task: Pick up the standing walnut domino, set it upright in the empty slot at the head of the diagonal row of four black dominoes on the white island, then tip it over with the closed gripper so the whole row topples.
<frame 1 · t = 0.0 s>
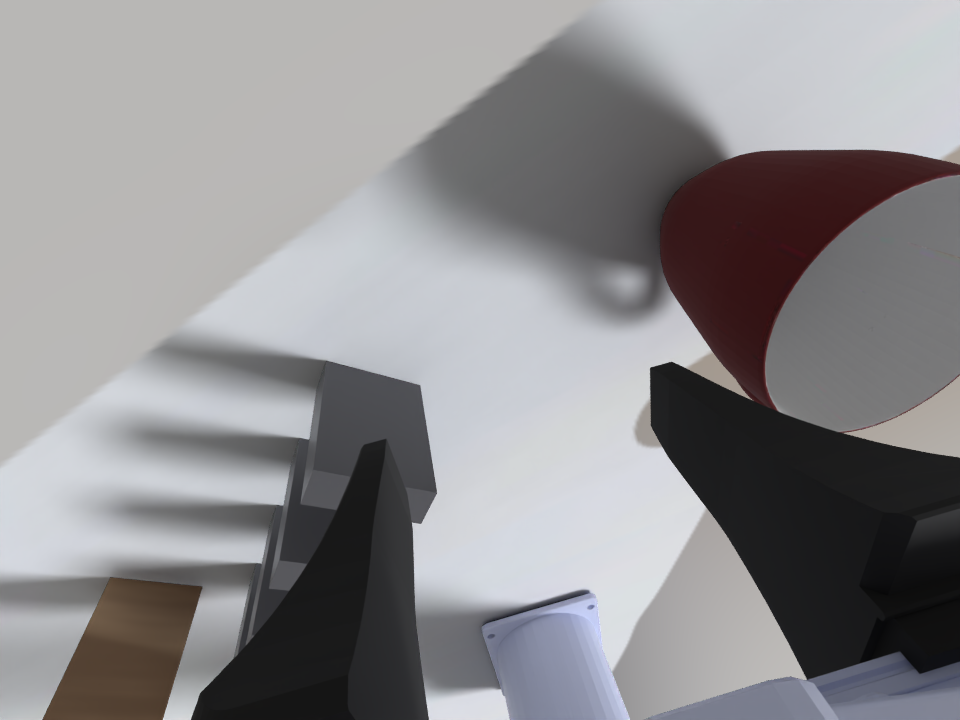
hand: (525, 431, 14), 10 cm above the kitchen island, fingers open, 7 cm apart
domino 2: (294, 577, 30), on the kitchen island
domino 4: (340, 459, 26), on the kitchen island
domino 3: (315, 522, 28), on the kitchen island
domino 5: (369, 387, 24), on the kitchen island
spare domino: (155, 591, 28), on the kitchen island
mug: (703, 242, 24), on the kitchen island
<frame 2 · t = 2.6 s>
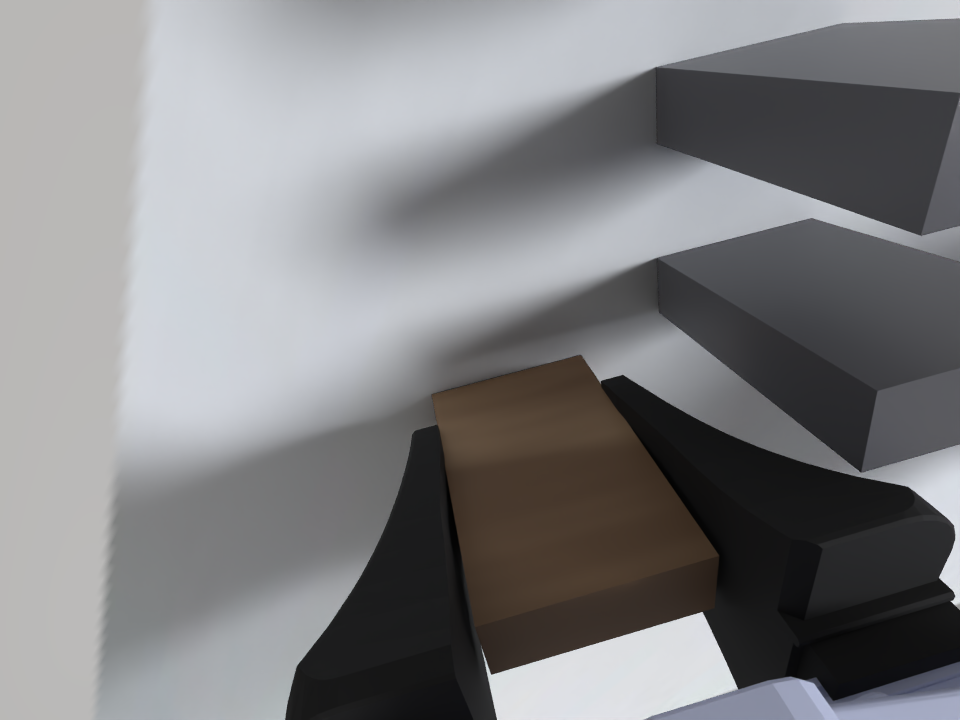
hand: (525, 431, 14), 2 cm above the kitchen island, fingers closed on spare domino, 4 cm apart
domino 2: (734, 266, 14), on the kitchen island
domino 3: (747, 84, 12), on the kitchen island
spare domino: (511, 396, 15), on the kitchen island, touching gripper
when the fingers open (2 cm above the kitchen island, at t = 5.8 s): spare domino stays where it is, on the kitchen island.
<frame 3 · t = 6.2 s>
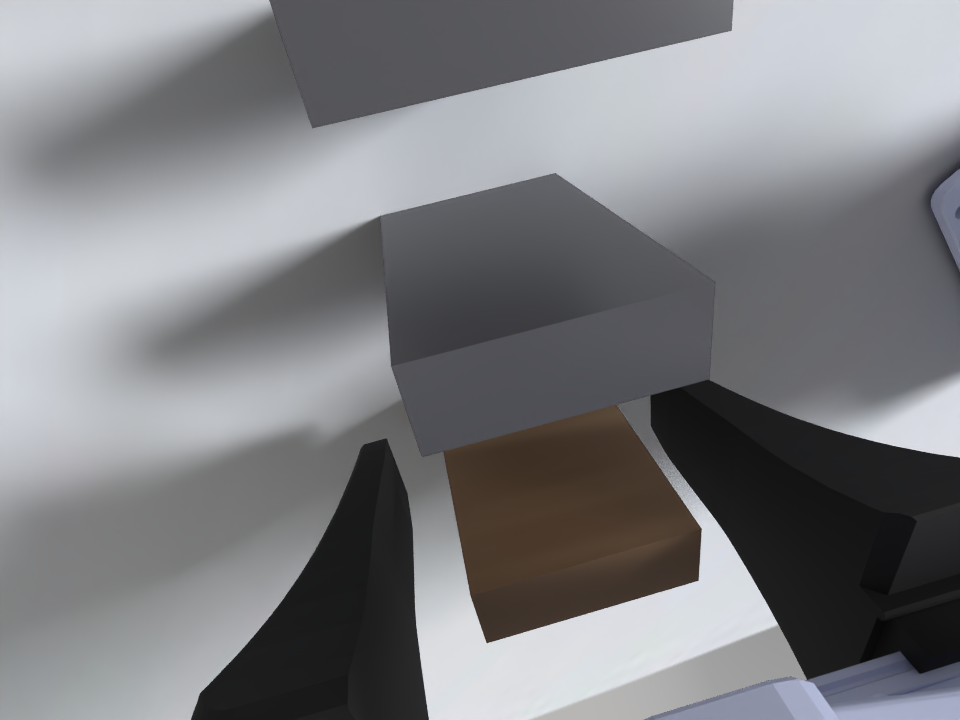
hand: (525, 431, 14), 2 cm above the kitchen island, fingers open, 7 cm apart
domino 2: (474, 226, 13), on the kitchen island
domino 3: (433, 15, 11), on the kitchen island
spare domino: (507, 385, 16), on the kitchen island
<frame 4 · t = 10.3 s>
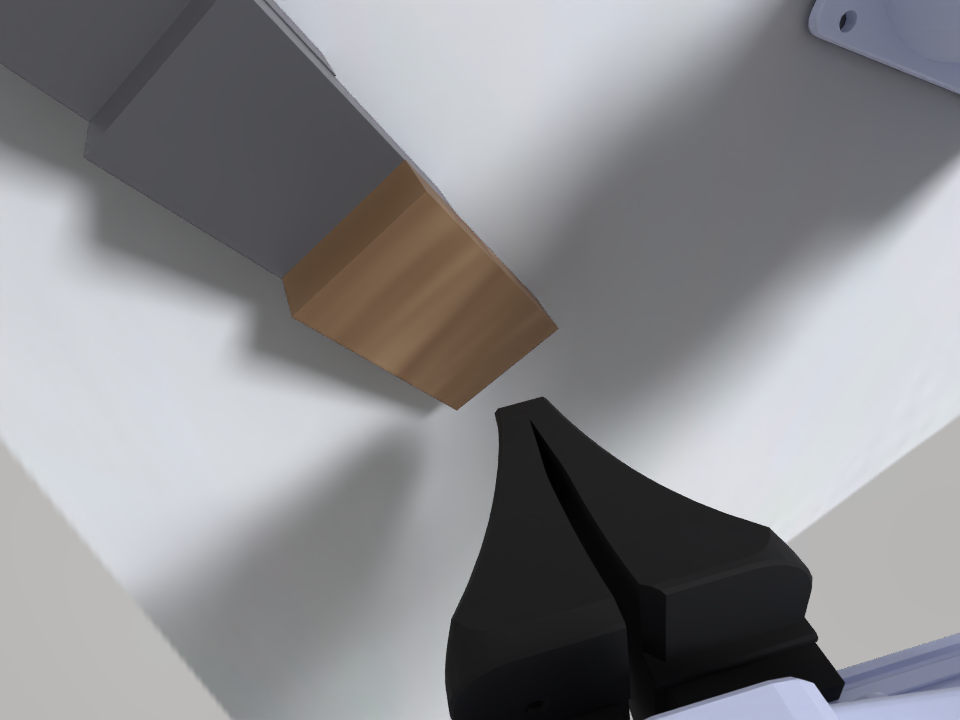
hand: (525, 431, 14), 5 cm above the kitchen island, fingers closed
domino 2: (392, 253, 15), point 1 cm above the kitchen island, tilted 69°, touching domino 3, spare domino
domino 3: (268, 128, 13), point 1 cm above the kitchen island, tilted 69°, touching domino 2, domino 4
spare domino: (496, 354, 18), point 1 cm above the kitchen island, tilted 70°, touching domino 2
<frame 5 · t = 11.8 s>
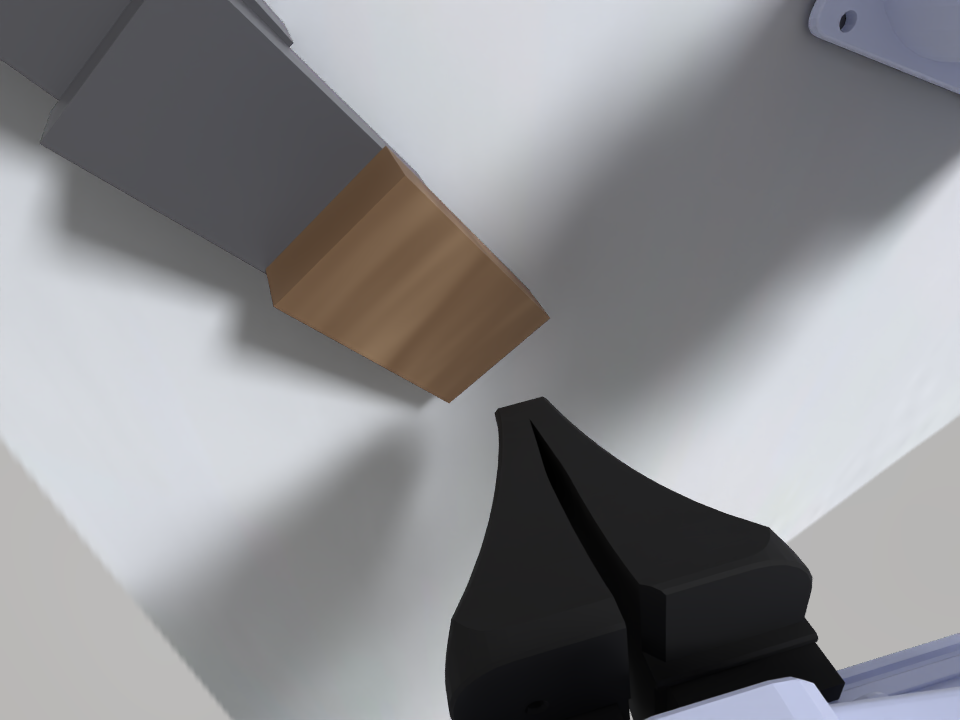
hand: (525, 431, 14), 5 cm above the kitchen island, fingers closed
domino 2: (372, 241, 15), point 1 cm above the kitchen island, tilted 71°, touching domino 3
domino 3: (225, 99, 13), point 1 cm above the kitchen island, tilted 71°, touching domino 2, domino 4
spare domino: (488, 345, 18), point 1 cm above the kitchen island, tilted 71°
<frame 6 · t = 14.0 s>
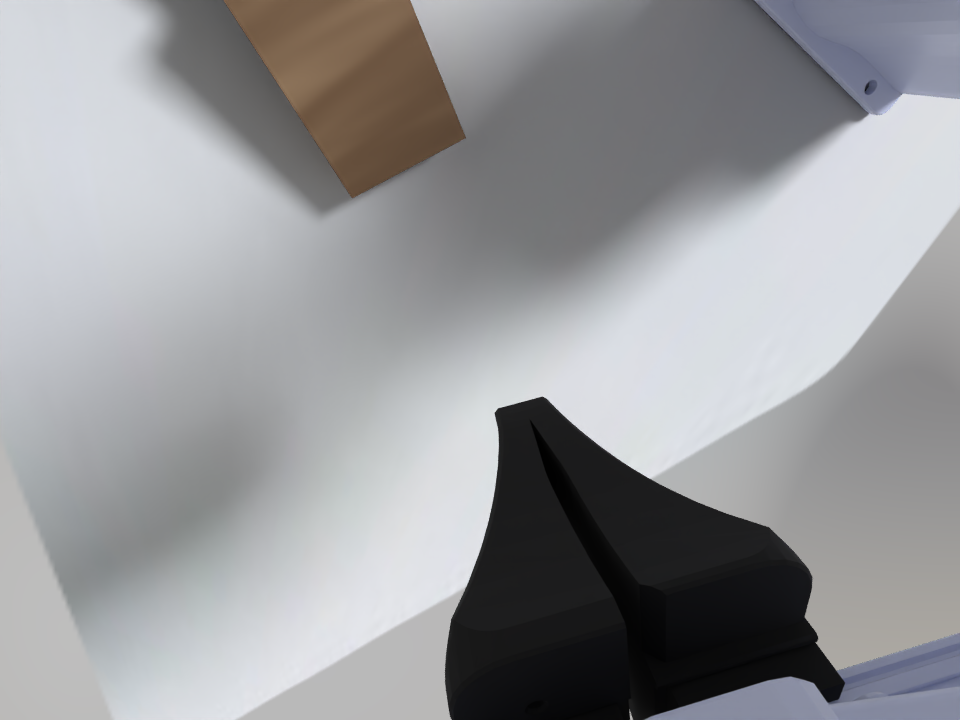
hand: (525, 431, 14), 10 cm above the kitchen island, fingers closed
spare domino: (403, 158, 19), point 1 cm above the kitchen island, tilted 74°, touching domino 2
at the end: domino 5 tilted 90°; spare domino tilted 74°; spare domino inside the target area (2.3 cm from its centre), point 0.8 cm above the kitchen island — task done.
